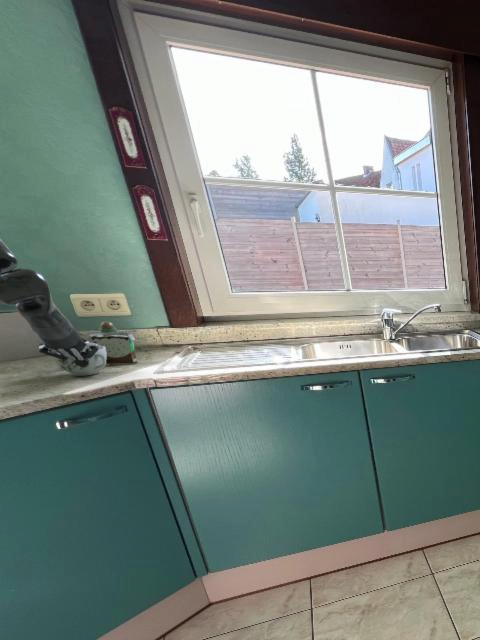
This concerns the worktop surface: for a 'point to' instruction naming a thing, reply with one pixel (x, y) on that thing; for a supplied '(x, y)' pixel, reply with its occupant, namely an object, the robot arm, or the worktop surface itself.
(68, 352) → the robot arm
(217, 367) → the worktop surface
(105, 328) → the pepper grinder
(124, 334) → the food container
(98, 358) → the teacup
